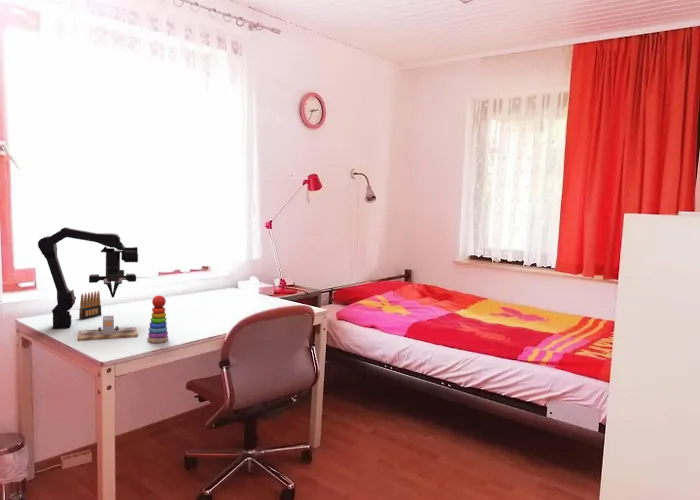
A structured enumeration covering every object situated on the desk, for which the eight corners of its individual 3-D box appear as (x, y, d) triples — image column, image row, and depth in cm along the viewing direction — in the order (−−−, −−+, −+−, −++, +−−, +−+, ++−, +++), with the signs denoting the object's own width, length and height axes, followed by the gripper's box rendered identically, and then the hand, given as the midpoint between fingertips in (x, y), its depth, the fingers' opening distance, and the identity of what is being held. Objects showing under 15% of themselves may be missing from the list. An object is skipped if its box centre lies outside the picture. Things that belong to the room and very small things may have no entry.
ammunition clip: (98, 314, 246) (98, 290, 244) (101, 315, 245) (101, 290, 244) (79, 319, 236) (79, 293, 235) (82, 319, 235) (81, 294, 234)
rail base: (77, 340, 204) (77, 333, 204) (78, 332, 215) (78, 325, 214) (137, 336, 214) (138, 329, 213) (136, 329, 224) (136, 322, 224)
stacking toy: (143, 342, 206) (143, 296, 204) (154, 337, 214) (154, 292, 212) (161, 344, 205) (162, 298, 203) (171, 339, 213) (172, 294, 211)
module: (103, 335, 210) (103, 320, 209) (102, 330, 216) (102, 316, 216) (113, 334, 212) (113, 319, 211) (113, 329, 218) (113, 315, 217)
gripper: (88, 265, 215) (88, 302, 217) (137, 264, 223) (136, 300, 225) (89, 261, 225) (89, 296, 227) (135, 261, 233) (135, 295, 235)
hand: (112, 297), depth 228 cm, fingers closed
